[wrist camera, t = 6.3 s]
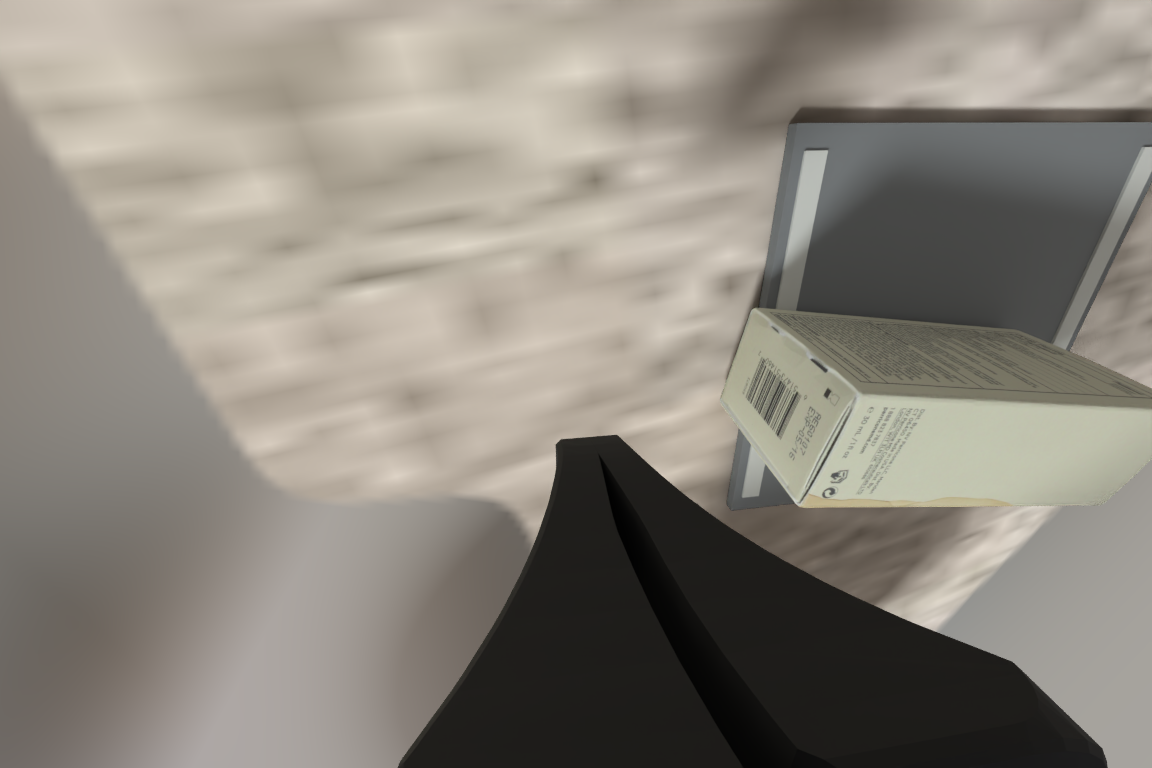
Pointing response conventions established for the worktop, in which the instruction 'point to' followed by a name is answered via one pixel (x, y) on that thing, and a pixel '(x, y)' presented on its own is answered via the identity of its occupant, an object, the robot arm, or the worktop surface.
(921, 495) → the skincare box
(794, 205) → the mat
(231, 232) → the worktop surface
